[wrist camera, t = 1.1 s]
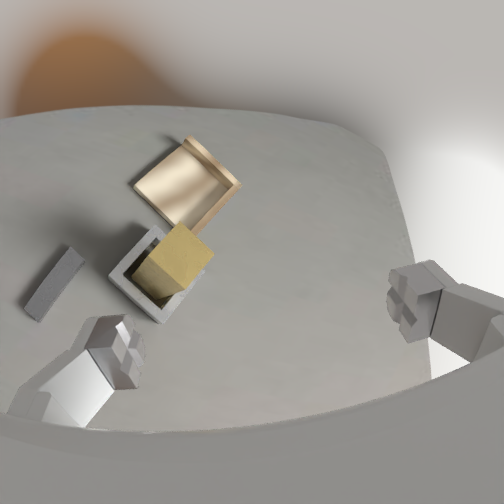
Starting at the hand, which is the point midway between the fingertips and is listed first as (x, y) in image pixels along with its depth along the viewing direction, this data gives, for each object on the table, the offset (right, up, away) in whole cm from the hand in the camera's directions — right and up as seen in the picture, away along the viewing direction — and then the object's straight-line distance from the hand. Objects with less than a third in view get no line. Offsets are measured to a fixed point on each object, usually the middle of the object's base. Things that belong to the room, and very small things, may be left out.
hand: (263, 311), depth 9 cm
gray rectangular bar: (-25, -2, +23) cm, 34 cm away
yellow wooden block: (-13, -1, +29) cm, 32 cm away
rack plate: (-10, +11, +34) cm, 37 cm away
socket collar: (-13, -1, +29) cm, 32 cm away
